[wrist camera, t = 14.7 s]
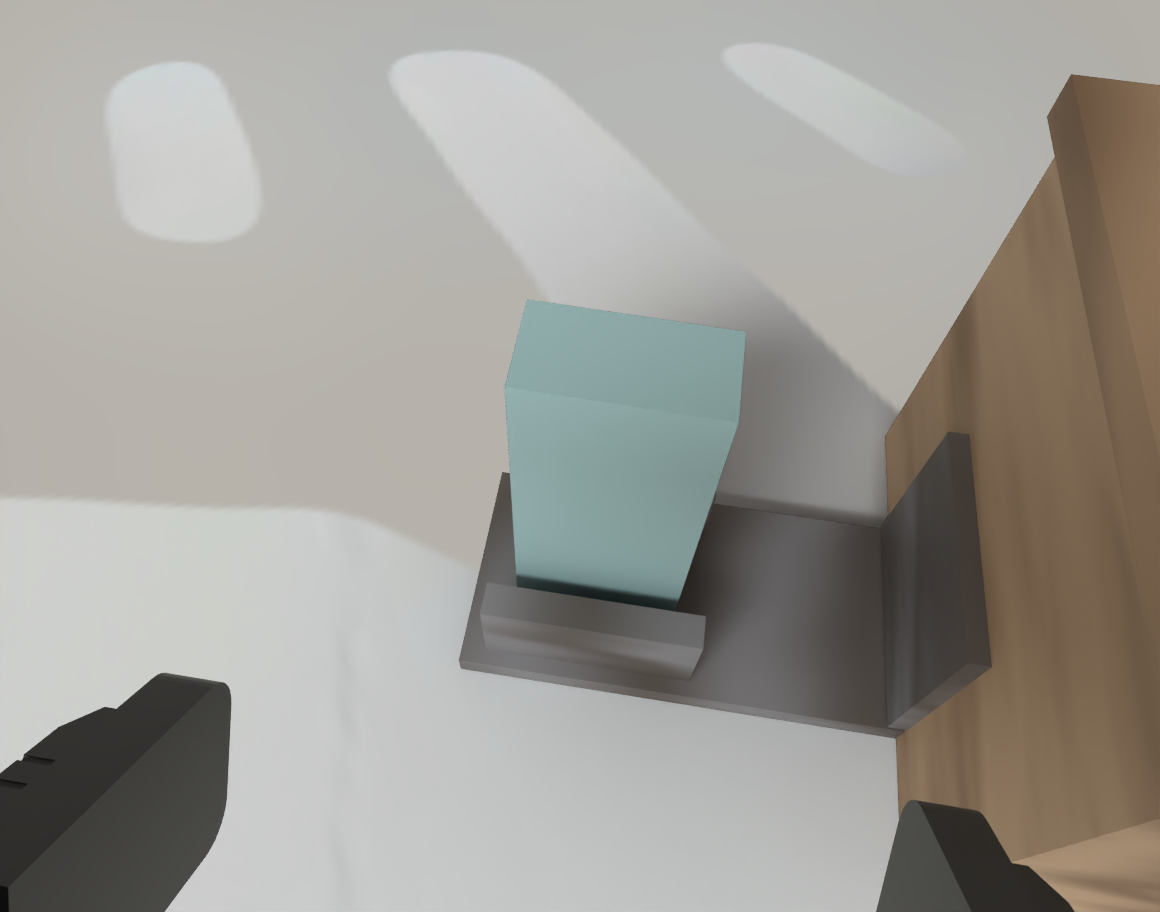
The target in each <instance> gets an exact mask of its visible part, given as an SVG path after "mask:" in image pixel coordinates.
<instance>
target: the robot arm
mask: <svg viewBox="0 0 1160 912" xmlns="http://www.w3.org/2000/svg"><path fill="white" fill-rule="evenodd" d="M230 720H231V693H230V690H229V687H228V686H227V685H226V684H225V683H223V682H217V681H211V680H205V679H199V678H193V677H187V676H181V675H175V674H169V673H161V674H158V675H157V676H155V677H154V678H153V679H151V680H150V681H149V682H148V683H147V684H145V685H144V686H143V687H142V688H141V689H140V690H138V691H137V692H136V693H135V694H134V695H132V696H131V697H130V698H129V699H128V700H127V701H125V702H124V703H123V704H122V705H121V706H119V707H118V708H117V709H114V708H108V707H104V708H101V709H99V710H97V711H95V712H92V713H90V714H88V715H85V716H83V717H81V718H79V719H76V720H74V721H72V722H69V723H67V724H65V725H63V726H60V727H58V728H57V729H56V730H54V731H53V732H52V733H51V734H49V735H48V736H47V737H46V738H44V739H43V740H42V741H41V742H39V743H38V744H37V745H35V746H34V747H33V748H32V749H30V750H29V751H28V752H27V753H25V754H24V757H23V759H22V761H19V760H17V761H15V762H14V763H13V764H12V765H10V766H9V767H8V768H6V769H5V770H4V771H3V772H1V773H0V912H165V910H166V909H167V908H168V906H169V905H170V903H171V902H172V901H173V899H174V898H175V897H176V895H177V894H178V893H179V891H180V890H181V889H182V887H183V886H184V885H185V883H186V882H187V881H188V879H189V878H190V877H191V875H192V874H193V873H194V871H195V870H196V869H197V867H198V866H199V865H200V863H201V862H202V861H203V859H204V858H205V857H206V855H207V854H208V852H209V850H210V849H211V847H212V845H213V843H214V841H215V839H216V836H217V834H218V832H219V829H220V826H221V823H222V819H223V816H224V812H225V807H226V800H227V784H228V763H229V741H230ZM876 912H1075V911H1074V910H1073V908H1072V907H1071V905H1070V904H1069V902H1068V901H1066V900H1065V899H1064V898H1063V897H1062V896H1061V895H1060V894H1059V893H1058V892H1057V891H1055V890H1054V889H1053V888H1052V887H1051V886H1050V885H1049V884H1048V883H1047V882H1046V881H1044V880H1043V879H1042V878H1041V877H1040V876H1039V875H1038V874H1037V873H1036V872H1035V871H1033V870H1032V869H1031V868H1030V867H1029V866H1026V865H1020V864H1015V863H1012V862H1011V861H1010V859H1009V857H1008V855H1007V854H1006V852H1005V850H1004V849H1003V847H1002V845H1001V844H1000V842H999V840H998V838H997V837H996V835H995V833H994V832H993V830H992V828H991V826H990V825H989V823H988V821H987V820H986V818H985V817H984V815H983V814H982V813H981V812H979V811H977V810H972V809H966V808H960V807H954V806H948V805H942V804H936V803H930V802H924V801H918V800H910V801H908V802H907V803H906V804H905V806H904V808H903V810H902V812H901V815H900V819H899V823H898V827H897V831H896V835H895V839H894V843H893V847H892V851H891V855H890V859H889V863H888V867H887V871H886V875H885V879H884V883H883V887H882V891H881V895H880V899H879V903H878V907H877V911H876Z"/></svg>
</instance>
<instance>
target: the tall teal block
mask: <svg viewBox="0 0 1160 912" xmlns="http://www.w3.org/2000/svg"><path fill="white" fill-rule="evenodd" d="M745 340H746V332H745V331H738V330H731V329H724V328H718V327H711V326H704V325H697V324H691V323H684V322H677V321H670V320H664V319H657V318H650V317H643V316H637V315H630V314H623V313H616V312H610V311H603V310H596V309H589V308H583V307H576V306H569V305H562V304H556V303H549V302H542V301H535V300H528V299H527V301H526V305H525V309H524V313H523V317H522V321H521V325H520V329H519V332H518V336H517V341H516V344H515V348H514V352H513V356H512V360H511V364H510V367H509V371H508V375H507V379H506V383H505V403H506V419H507V435H508V451H509V467H510V483H511V499H512V515H513V531H514V546H515V562H516V578H517V587H521V588H527V589H533V590H540V591H546V592H553V593H559V594H565V595H572V596H578V597H585V598H591V599H598V600H604V601H610V602H617V603H623V604H630V605H636V606H643V607H649V608H655V609H662V610H668V611H675V610H676V607H677V604H678V601H679V598H680V595H681V592H682V589H683V586H684V583H685V580H686V577H687V574H688V571H689V568H690V565H691V562H692V559H693V557H694V554H695V551H696V548H697V545H698V542H699V539H700V536H701V533H702V530H703V527H704V524H705V521H706V518H707V515H708V512H709V509H710V506H711V503H712V500H713V497H714V494H715V491H716V489H717V486H718V483H719V480H720V477H721V474H722V471H723V468H724V465H725V462H726V459H727V456H728V453H729V450H730V447H731V444H732V441H733V438H734V435H735V432H736V429H737V426H738V424H739V413H740V401H741V389H742V377H743V364H744V352H745Z"/></svg>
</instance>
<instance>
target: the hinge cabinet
mask: <svg viewBox="0 0 1160 912" xmlns="http://www.w3.org/2000/svg"><path fill="white" fill-rule="evenodd" d="M1047 119H1048V124H1049V129H1050V134H1051V139H1052V144H1053V149H1054V154H1055V158H1054V159H1053V161H1052V162H1051V164H1050V166H1049V167H1048V169H1047V171H1046V173H1045V174H1044V176H1043V177H1042V179H1041V181H1040V182H1039V184H1038V186H1037V187H1036V189H1035V191H1034V192H1033V194H1032V196H1031V197H1030V199H1029V201H1028V202H1027V204H1026V205H1025V207H1024V209H1023V210H1022V212H1021V214H1020V215H1019V217H1018V219H1017V220H1016V222H1015V224H1014V225H1013V227H1012V228H1011V230H1010V232H1009V234H1008V235H1007V237H1006V238H1005V240H1004V242H1003V243H1002V245H1001V247H1000V248H999V250H998V252H997V253H996V255H995V257H994V258H993V260H992V261H991V263H990V265H989V266H988V268H987V270H986V271H985V273H984V275H983V276H982V278H981V280H980V282H979V283H978V285H977V286H976V288H975V290H974V291H973V293H972V294H971V296H970V298H969V299H968V301H967V303H966V304H965V306H964V308H963V310H962V311H961V313H960V314H959V316H958V318H957V319H956V321H955V323H954V324H953V326H952V328H951V329H950V331H949V332H948V334H947V336H946V337H945V339H944V341H943V342H942V344H941V346H940V347H939V349H938V351H937V352H936V354H935V356H934V357H933V359H932V361H931V362H930V364H929V366H928V367H927V369H926V370H925V372H924V374H923V375H922V377H921V379H920V380H919V382H918V384H917V385H916V387H915V389H914V390H913V392H912V394H911V395H910V397H909V398H908V400H907V402H906V404H905V405H904V407H903V408H902V410H901V412H900V413H899V415H898V417H897V418H896V420H895V421H894V423H893V425H892V426H891V428H890V430H889V431H888V433H887V435H886V436H885V447H886V474H887V502H888V517H887V518H886V520H885V521H884V523H883V524H882V525H881V529H879V528H872V527H866V526H859V525H852V524H846V523H839V522H832V521H826V520H819V519H812V518H806V517H799V516H792V515H786V514H779V513H772V512H765V511H759V510H752V509H745V508H739V507H732V506H725V505H719V504H714V501H715V498H716V491H715V494H714V497H713V500H712V503H711V506H710V509H709V512H708V515H707V518H706V521H705V524H704V527H703V530H702V533H701V536H700V539H699V542H698V545H697V548H696V551H695V554H694V557H693V559H692V562H691V565H690V568H689V571H688V574H687V577H686V580H685V583H684V586H683V589H682V592H681V595H680V598H679V601H678V604H677V607H676V610H675V611H668V610H662V609H655V608H649V607H643V606H636V605H630V604H623V603H617V602H610V601H604V600H598V599H591V598H585V597H578V596H572V595H565V594H559V593H553V592H546V591H540V590H533V589H527V588H521V587H517V578H516V562H515V546H514V531H513V515H512V499H511V483H510V473H504V472H502V476H501V481H500V485H499V489H498V494H497V498H496V502H495V507H494V511H493V515H492V520H491V524H490V528H489V533H488V538H487V541H486V546H485V550H484V554H483V559H482V563H481V567H480V572H479V576H478V580H477V585H476V589H475V593H474V598H473V602H472V606H471V611H470V615H469V619H468V624H467V628H466V632H465V637H464V641H463V645H462V650H461V654H460V658H459V662H460V666H461V668H462V669H468V670H474V671H480V672H487V673H493V674H499V675H505V676H511V677H518V678H524V679H530V680H536V681H543V682H549V683H555V684H561V685H567V686H574V687H580V688H586V689H592V690H598V691H605V692H611V693H617V694H623V695H630V696H636V697H642V698H648V699H654V700H661V701H667V702H673V703H679V704H686V705H692V706H698V707H704V708H710V709H717V710H723V711H729V712H735V713H741V714H748V715H754V716H760V717H766V718H773V719H779V720H785V721H791V722H797V723H804V724H810V725H816V726H822V727H829V728H835V729H841V730H847V731H853V732H860V733H866V734H872V735H878V736H884V737H891V738H896V747H897V774H898V801H899V819H900V815H901V812H902V810H903V808H904V806H905V804H906V803H907V802H908V801H910V800H918V801H924V802H930V803H936V804H942V805H948V806H954V807H960V808H966V809H972V810H977V811H979V812H981V813H982V814H983V815H984V817H985V818H986V820H987V821H988V823H989V825H990V826H991V828H992V830H993V832H994V833H995V835H996V837H997V838H998V840H999V842H1000V844H1001V845H1002V847H1003V849H1004V850H1005V852H1006V854H1007V855H1008V857H1009V859H1010V861H1011V862H1012V863H1015V864H1020V865H1026V866H1029V867H1030V868H1031V869H1032V870H1033V871H1035V872H1036V873H1037V874H1038V875H1039V876H1040V877H1041V878H1042V879H1043V880H1044V881H1046V882H1047V883H1048V884H1049V885H1050V886H1051V887H1052V888H1053V889H1054V890H1055V891H1057V892H1058V893H1059V894H1060V895H1061V896H1062V897H1063V898H1064V899H1065V900H1066V901H1068V902H1069V904H1070V905H1071V907H1072V908H1073V910H1074V911H1075V912H1160V85H1154V84H1145V83H1137V82H1129V81H1120V80H1113V79H1105V78H1097V77H1089V76H1080V75H1071V76H1070V78H1069V79H1068V81H1067V83H1066V84H1065V86H1064V88H1063V90H1062V92H1061V93H1060V95H1059V97H1058V98H1057V100H1056V102H1055V104H1054V105H1053V107H1052V109H1051V111H1050V112H1049V114H1048V116H1047Z"/></svg>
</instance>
